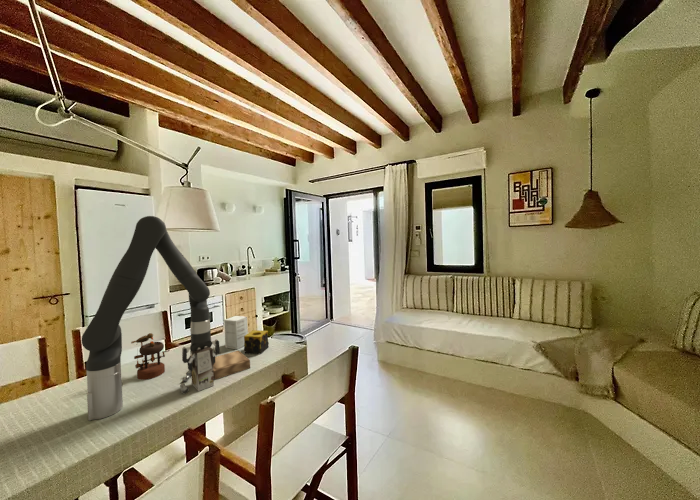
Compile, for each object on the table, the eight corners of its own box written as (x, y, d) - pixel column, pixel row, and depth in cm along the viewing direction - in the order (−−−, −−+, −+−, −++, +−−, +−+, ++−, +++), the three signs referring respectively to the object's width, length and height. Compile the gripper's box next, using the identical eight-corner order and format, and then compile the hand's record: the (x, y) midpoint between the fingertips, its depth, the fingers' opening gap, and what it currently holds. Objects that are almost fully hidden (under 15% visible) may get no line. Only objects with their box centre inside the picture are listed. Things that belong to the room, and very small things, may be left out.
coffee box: (214, 385, 115) (213, 348, 114) (198, 391, 110) (196, 353, 110) (206, 378, 121) (205, 343, 121) (191, 384, 116) (189, 347, 116)
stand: (214, 379, 120) (214, 370, 120) (205, 367, 132) (205, 359, 132) (250, 368, 130) (249, 359, 130) (238, 357, 142) (238, 349, 142)
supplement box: (248, 344, 162) (247, 316, 161) (237, 349, 153) (236, 320, 153) (236, 342, 165) (235, 315, 165) (224, 347, 157) (223, 319, 156)
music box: (138, 384, 117) (134, 338, 118) (129, 379, 123) (126, 336, 124) (176, 369, 130) (173, 328, 130) (166, 366, 136) (163, 327, 136)
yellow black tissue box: (252, 346, 158) (252, 329, 157) (269, 347, 156) (268, 330, 156) (243, 353, 147) (243, 336, 147) (260, 354, 146) (260, 336, 146)
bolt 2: (189, 391, 110) (188, 385, 110) (181, 394, 108) (180, 387, 108) (186, 386, 115) (186, 379, 115) (178, 388, 113) (178, 382, 113)
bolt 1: (188, 381, 118) (188, 375, 118) (181, 382, 118) (181, 376, 118) (193, 375, 124) (193, 369, 124) (187, 376, 124) (186, 370, 123)
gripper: (183, 336, 107) (184, 376, 108) (220, 328, 117) (222, 365, 117) (179, 332, 113) (181, 370, 114) (216, 324, 122) (217, 359, 123)
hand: (202, 367), depth 115 cm, fingers open, 8 cm apart
